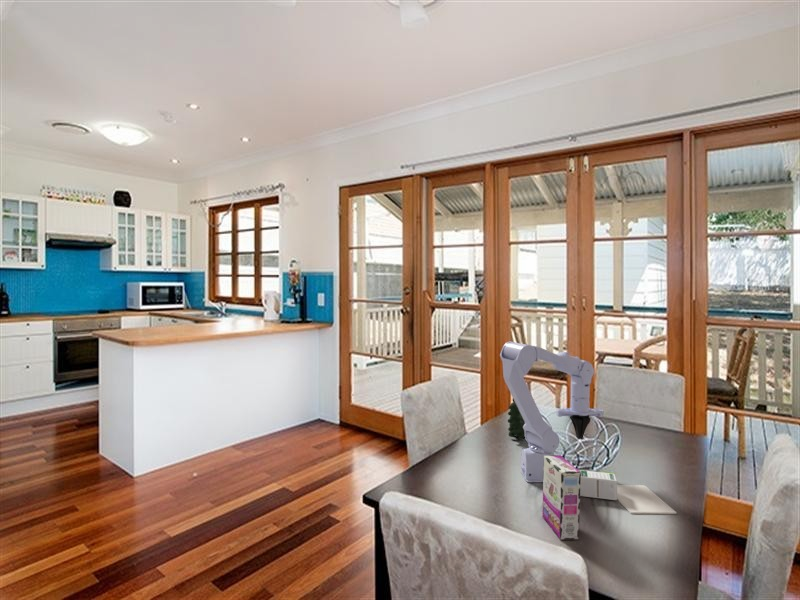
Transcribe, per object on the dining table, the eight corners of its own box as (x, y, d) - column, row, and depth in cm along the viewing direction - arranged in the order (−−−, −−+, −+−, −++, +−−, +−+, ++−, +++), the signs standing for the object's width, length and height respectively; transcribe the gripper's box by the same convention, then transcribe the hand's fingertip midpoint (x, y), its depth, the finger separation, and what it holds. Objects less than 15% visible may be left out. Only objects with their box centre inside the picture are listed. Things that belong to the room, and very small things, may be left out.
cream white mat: (630, 513, 119) (630, 512, 119) (604, 486, 135) (604, 484, 135) (676, 514, 119) (676, 512, 119) (644, 486, 135) (644, 485, 135)
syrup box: (617, 480, 125) (561, 473, 130) (617, 501, 125) (561, 493, 130) (615, 472, 130) (561, 466, 135) (615, 492, 131) (561, 485, 135)
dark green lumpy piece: (526, 449, 169) (539, 424, 191) (525, 400, 167) (539, 381, 189) (501, 444, 174) (517, 421, 196) (500, 397, 172) (516, 379, 193)
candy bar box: (580, 540, 107) (582, 472, 106) (560, 541, 106) (561, 472, 106) (560, 515, 118) (561, 454, 117) (541, 516, 118) (542, 454, 117)
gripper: (561, 399, 142) (561, 442, 143) (608, 399, 142) (607, 442, 143) (554, 394, 149) (554, 434, 150) (598, 394, 149) (597, 434, 150)
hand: (579, 437), depth 147 cm, fingers closed
